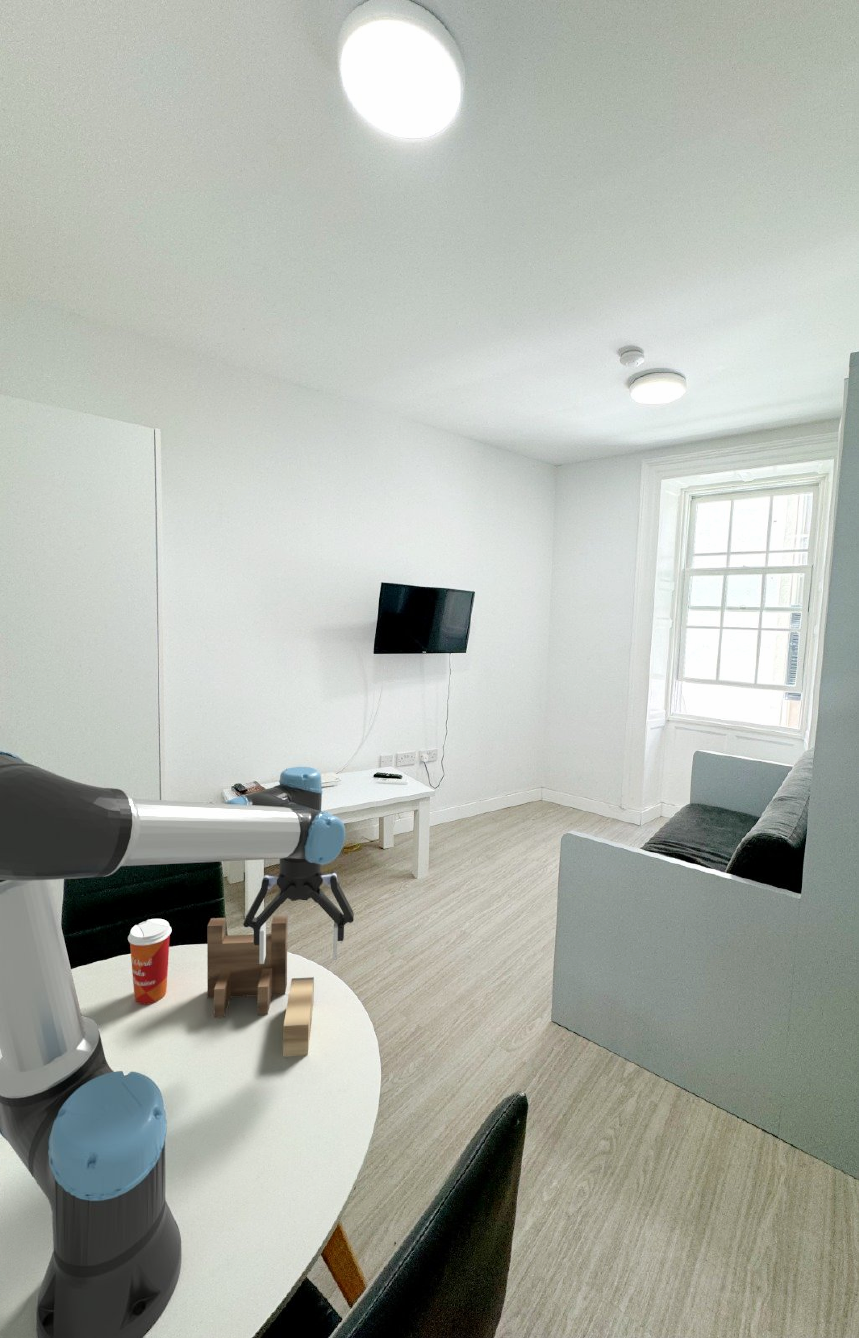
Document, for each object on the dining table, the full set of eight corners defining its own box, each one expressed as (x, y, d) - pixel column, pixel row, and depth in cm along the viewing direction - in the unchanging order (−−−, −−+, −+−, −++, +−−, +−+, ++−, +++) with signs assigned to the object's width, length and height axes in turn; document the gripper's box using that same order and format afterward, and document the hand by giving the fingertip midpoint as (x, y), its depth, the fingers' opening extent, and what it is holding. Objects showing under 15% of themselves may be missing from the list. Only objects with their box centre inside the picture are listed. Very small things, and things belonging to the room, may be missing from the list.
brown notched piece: (281, 1013, 115) (282, 938, 114) (199, 1018, 113) (199, 942, 112) (286, 984, 124) (287, 915, 123) (211, 988, 122) (211, 918, 120)
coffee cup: (121, 997, 118) (119, 929, 117) (158, 977, 125) (158, 913, 124) (142, 1014, 114) (141, 943, 112) (180, 992, 120) (179, 925, 119)
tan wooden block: (307, 1054, 105) (308, 1024, 104) (283, 1056, 104) (283, 1026, 103) (313, 1004, 118) (313, 977, 118) (291, 1005, 118) (291, 978, 117)
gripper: (366, 840, 111) (364, 943, 113) (235, 844, 107) (235, 949, 109) (367, 857, 103) (365, 966, 105) (226, 861, 100) (227, 973, 102)
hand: (299, 957), depth 107 cm, fingers open, 13 cm apart
